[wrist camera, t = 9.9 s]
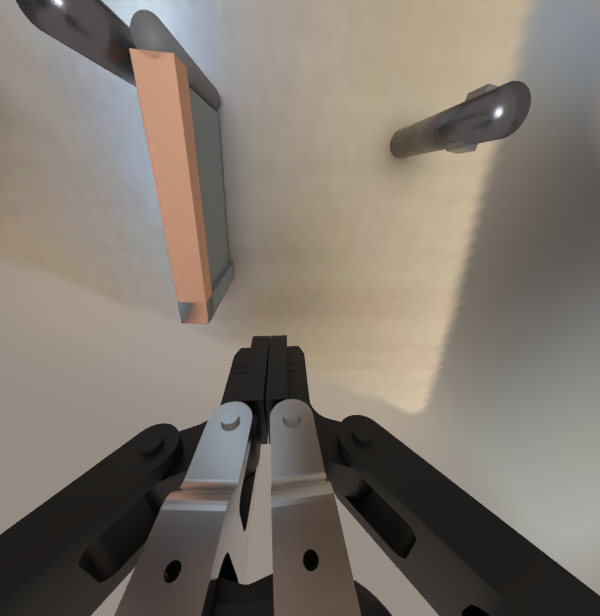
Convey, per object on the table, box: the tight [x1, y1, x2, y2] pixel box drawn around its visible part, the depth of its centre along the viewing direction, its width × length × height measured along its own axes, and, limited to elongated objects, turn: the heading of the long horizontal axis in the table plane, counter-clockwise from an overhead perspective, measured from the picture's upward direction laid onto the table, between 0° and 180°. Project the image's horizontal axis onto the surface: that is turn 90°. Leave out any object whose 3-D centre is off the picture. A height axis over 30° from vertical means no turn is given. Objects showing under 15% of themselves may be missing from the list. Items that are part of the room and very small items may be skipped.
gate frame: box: [16, 0, 531, 158], centre depth 16 cm, size 22×3×12 cm, turn 80°
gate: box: [129, 10, 234, 324], centre depth 19 cm, size 16×2×9 cm, turn 176°
